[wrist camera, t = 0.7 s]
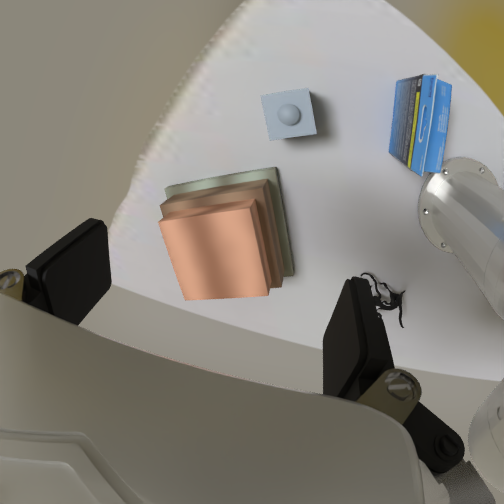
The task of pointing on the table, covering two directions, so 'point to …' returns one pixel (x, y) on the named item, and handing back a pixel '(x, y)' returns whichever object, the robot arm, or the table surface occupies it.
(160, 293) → the table surface
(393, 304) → the creature
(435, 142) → the label tape box
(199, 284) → the stepped plate stack
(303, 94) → the slate brick
